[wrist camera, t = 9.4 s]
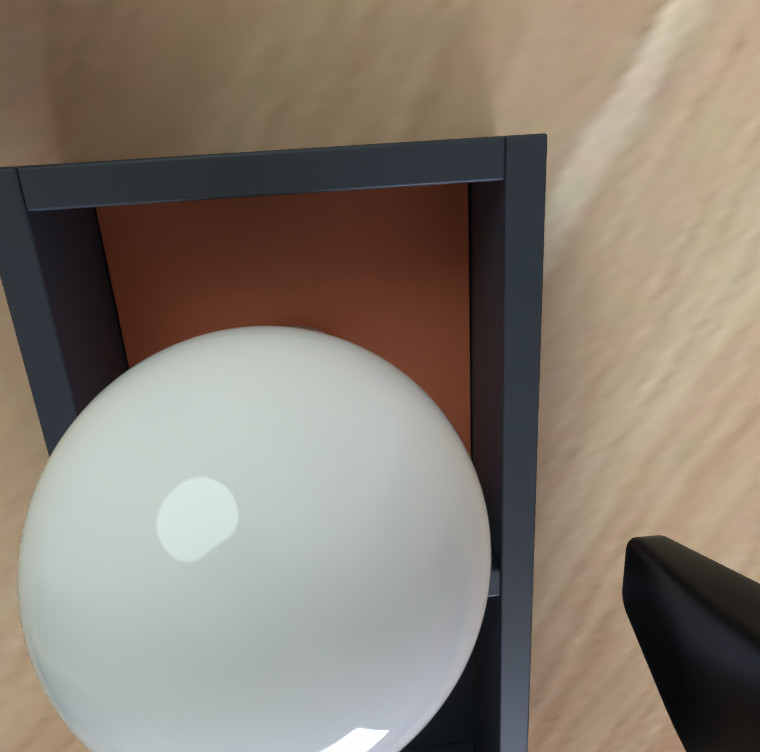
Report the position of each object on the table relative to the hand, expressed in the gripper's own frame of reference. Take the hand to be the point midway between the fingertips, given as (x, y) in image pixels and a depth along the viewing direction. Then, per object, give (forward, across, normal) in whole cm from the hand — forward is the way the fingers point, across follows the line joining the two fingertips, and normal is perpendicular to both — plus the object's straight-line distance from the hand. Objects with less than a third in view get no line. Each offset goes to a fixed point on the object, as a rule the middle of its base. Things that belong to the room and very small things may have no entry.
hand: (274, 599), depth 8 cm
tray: (+10, 0, +5) cm, 11 cm away
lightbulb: (+9, 0, 0) cm, 9 cm away
